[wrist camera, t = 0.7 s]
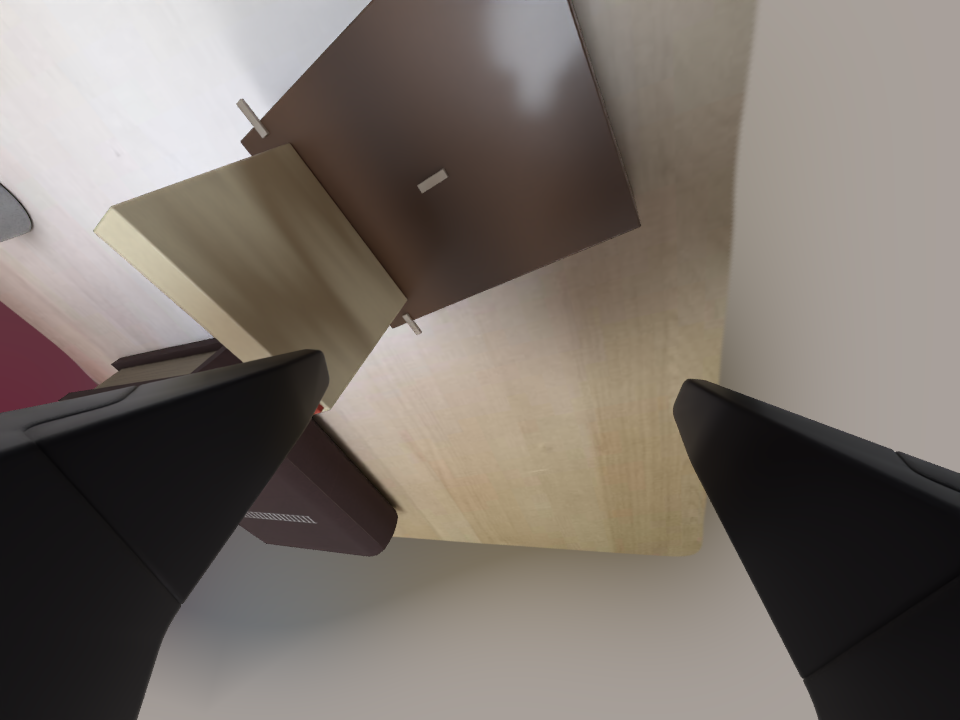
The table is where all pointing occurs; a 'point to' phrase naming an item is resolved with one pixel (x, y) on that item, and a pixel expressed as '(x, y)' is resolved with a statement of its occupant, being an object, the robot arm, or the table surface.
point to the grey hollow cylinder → (12, 217)
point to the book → (283, 469)
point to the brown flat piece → (458, 142)
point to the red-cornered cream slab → (261, 262)
